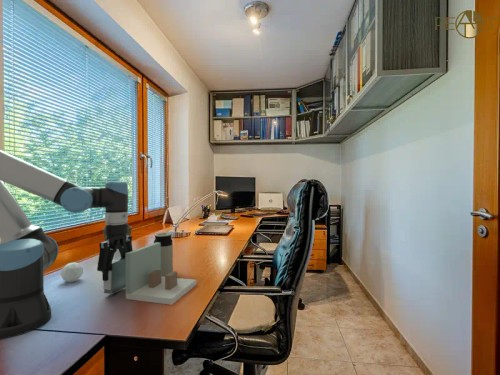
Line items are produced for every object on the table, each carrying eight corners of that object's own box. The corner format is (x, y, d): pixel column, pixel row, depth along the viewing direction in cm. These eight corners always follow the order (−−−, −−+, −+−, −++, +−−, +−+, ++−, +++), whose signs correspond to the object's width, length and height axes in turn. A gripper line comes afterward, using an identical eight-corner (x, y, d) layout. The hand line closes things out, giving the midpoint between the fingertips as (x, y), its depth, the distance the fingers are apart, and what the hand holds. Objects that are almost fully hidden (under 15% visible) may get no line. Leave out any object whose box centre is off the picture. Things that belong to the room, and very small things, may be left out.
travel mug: (153, 277, 113) (152, 236, 113) (154, 272, 121) (154, 232, 121) (172, 276, 115) (172, 235, 115) (172, 270, 123) (172, 231, 123)
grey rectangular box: (112, 294, 94) (112, 263, 94) (104, 293, 95) (104, 262, 95) (128, 286, 101) (128, 257, 101) (120, 285, 102) (120, 256, 102)
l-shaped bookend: (171, 304, 88) (171, 256, 88) (125, 298, 93) (125, 253, 92) (196, 284, 105) (195, 244, 105) (156, 280, 110) (156, 242, 110)
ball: (68, 287, 111) (64, 269, 114) (88, 278, 113) (84, 261, 116) (58, 284, 104) (54, 265, 107) (80, 274, 106) (76, 256, 109)
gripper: (102, 228, 87) (102, 297, 87) (143, 220, 107) (143, 276, 107) (84, 227, 89) (84, 294, 89) (128, 219, 109) (127, 274, 109)
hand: (116, 284), depth 98 cm, fingers closed on grey rectangular box, 8 cm apart
